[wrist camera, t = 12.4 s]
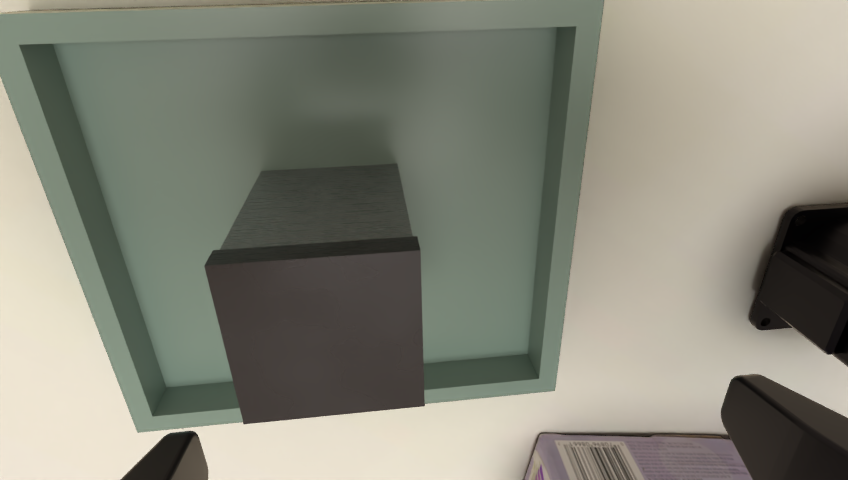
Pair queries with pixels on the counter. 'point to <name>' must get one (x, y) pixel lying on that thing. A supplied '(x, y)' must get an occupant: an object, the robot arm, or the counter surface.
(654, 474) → the cake pan box
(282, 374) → the capped grey block
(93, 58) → the tray
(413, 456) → the counter surface
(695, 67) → the counter surface
